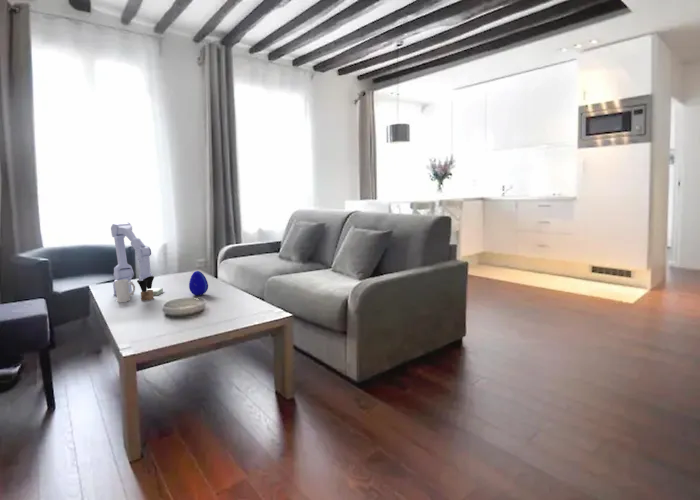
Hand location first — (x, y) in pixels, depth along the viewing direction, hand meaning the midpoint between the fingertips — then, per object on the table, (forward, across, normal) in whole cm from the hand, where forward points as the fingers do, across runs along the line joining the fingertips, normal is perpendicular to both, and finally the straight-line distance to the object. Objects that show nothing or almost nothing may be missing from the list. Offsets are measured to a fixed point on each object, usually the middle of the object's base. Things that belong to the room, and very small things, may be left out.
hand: (146, 290), depth 250 cm
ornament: (+6, +6, -28) cm, 29 cm away
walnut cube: (+6, 0, 0) cm, 6 cm away
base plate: (+5, +13, +2) cm, 14 cm away
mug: (+6, -2, +11) cm, 13 cm away
